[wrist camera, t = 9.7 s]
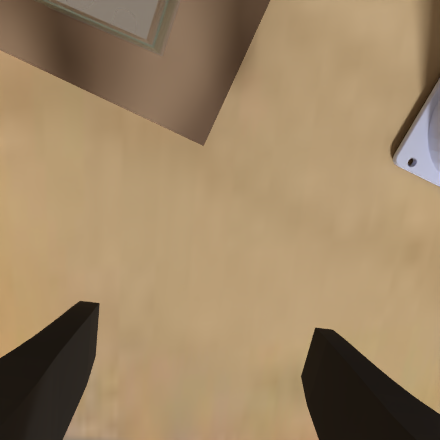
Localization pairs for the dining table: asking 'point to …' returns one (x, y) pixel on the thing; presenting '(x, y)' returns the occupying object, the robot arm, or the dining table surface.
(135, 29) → the steel tin
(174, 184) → the dining table surface
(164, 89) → the walnut block
